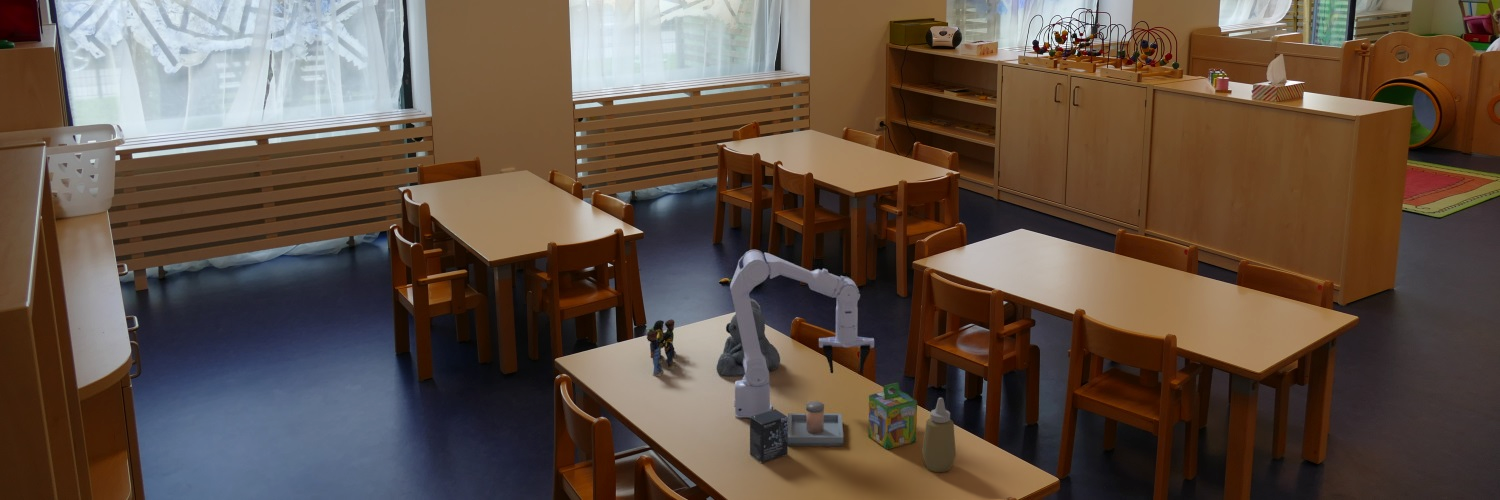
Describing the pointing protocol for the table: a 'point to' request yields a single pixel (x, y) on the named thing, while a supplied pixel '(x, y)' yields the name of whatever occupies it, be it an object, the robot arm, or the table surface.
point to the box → (768, 435)
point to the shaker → (815, 417)
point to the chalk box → (892, 417)
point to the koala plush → (733, 349)
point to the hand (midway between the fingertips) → (846, 371)
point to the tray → (826, 438)
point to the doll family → (661, 345)
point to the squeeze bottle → (939, 440)
